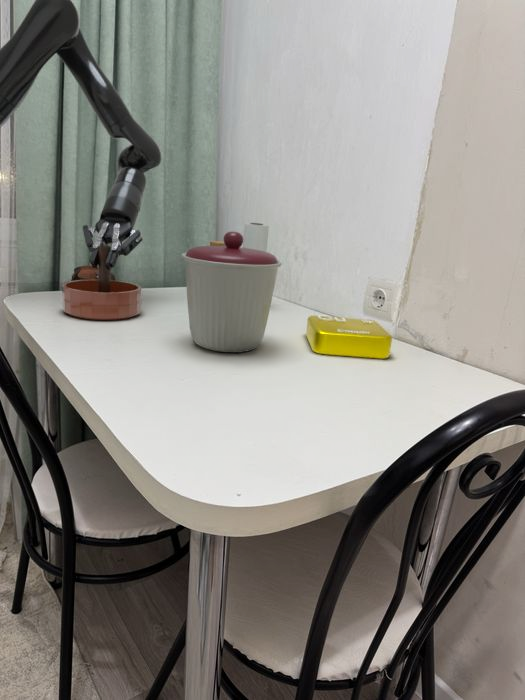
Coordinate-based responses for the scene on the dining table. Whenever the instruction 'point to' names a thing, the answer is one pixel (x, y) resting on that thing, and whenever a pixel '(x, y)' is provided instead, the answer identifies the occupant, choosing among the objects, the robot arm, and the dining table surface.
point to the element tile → (348, 337)
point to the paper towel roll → (255, 236)
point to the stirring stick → (103, 270)
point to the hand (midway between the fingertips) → (100, 266)
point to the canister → (229, 294)
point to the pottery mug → (87, 273)
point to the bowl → (101, 300)
